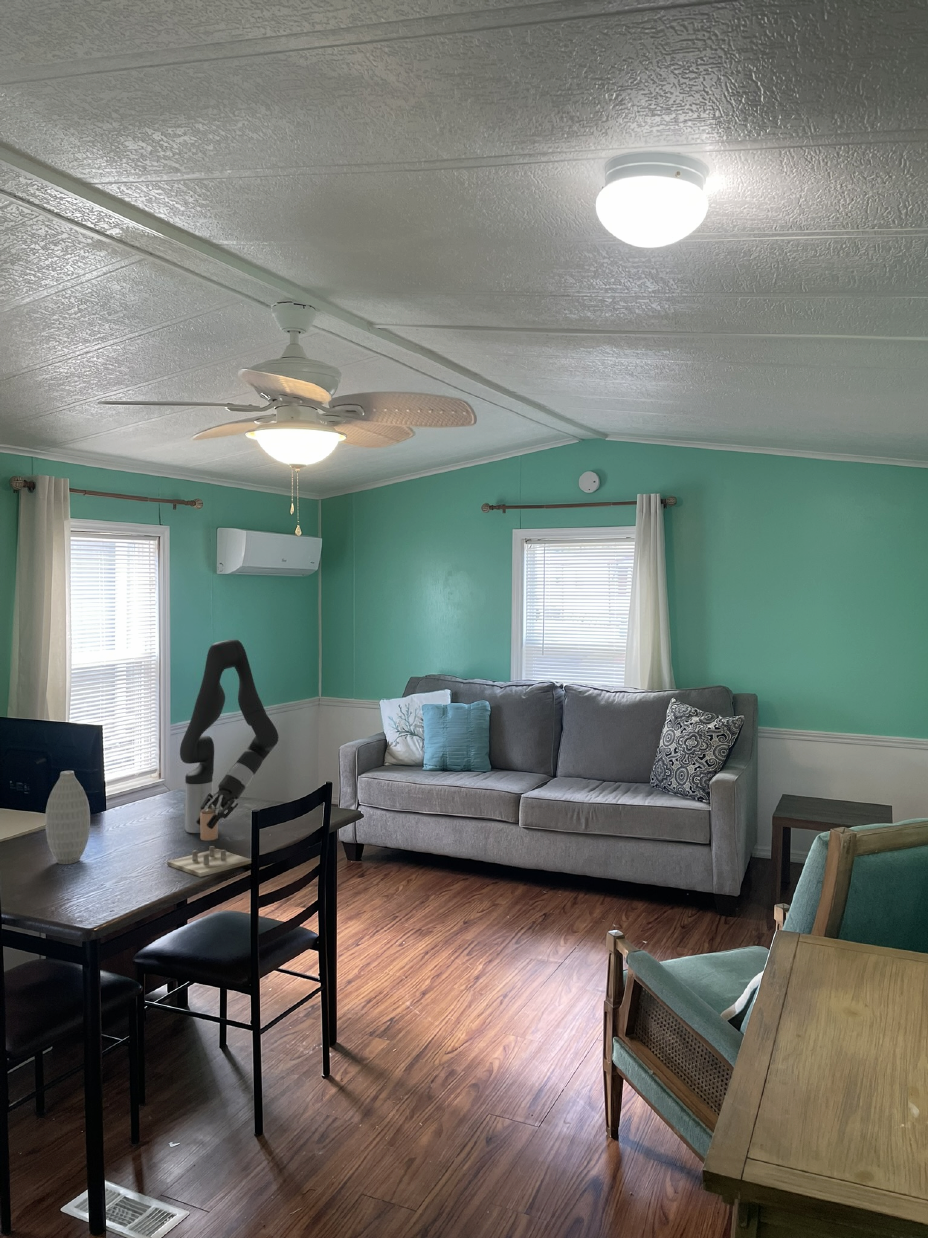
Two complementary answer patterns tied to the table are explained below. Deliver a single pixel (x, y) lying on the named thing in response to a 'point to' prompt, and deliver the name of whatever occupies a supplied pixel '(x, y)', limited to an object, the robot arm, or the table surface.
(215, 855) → the peg plate
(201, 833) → the canister
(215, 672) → the robot arm
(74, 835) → the vase
